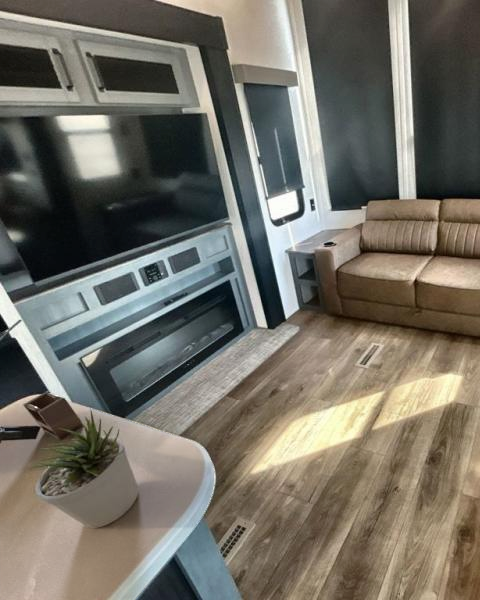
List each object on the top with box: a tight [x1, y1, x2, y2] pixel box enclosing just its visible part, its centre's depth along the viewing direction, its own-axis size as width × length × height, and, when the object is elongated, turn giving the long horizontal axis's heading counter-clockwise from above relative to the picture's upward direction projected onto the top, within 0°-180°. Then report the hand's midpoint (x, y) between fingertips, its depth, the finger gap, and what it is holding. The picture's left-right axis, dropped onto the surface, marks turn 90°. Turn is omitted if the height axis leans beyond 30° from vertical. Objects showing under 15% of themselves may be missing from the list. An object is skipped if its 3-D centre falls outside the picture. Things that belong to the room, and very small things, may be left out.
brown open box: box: [22, 390, 83, 441], centre depth 87 cm, size 8×5×9 cm, turn 65°
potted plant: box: [28, 409, 139, 529], centre depth 64 cm, size 13×14×20 cm
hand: (36, 432), depth 85 cm, fingers closed
